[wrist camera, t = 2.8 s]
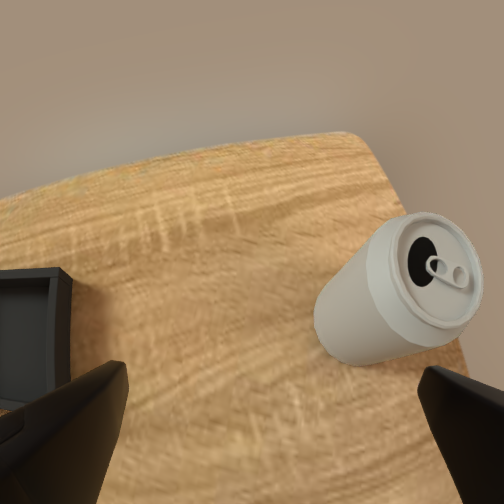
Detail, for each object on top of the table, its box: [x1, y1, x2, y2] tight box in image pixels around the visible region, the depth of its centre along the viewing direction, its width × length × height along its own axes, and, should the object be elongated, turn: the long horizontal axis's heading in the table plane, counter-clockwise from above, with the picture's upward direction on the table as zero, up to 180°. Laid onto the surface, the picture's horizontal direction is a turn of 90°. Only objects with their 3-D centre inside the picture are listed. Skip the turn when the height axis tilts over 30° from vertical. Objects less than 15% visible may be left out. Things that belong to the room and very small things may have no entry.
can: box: [314, 212, 484, 366], centre depth 19 cm, size 8×8×12 cm
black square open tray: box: [0, 267, 73, 411], centre depth 19 cm, size 11×11×3 cm
